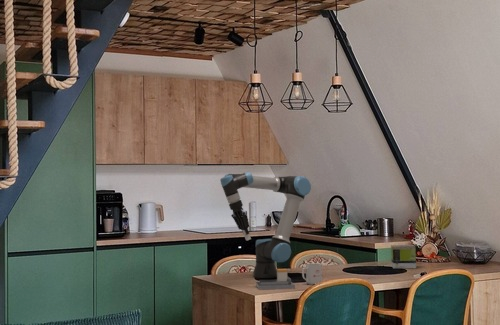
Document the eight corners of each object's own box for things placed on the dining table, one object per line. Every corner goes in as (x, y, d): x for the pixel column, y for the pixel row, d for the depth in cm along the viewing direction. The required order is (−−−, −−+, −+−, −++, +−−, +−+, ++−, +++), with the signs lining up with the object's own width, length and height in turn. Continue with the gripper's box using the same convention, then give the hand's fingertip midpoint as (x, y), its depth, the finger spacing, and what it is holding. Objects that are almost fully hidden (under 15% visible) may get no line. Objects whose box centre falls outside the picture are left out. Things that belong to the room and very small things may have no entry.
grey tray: (259, 289, 381) (259, 280, 381) (256, 285, 394) (256, 276, 394) (294, 288, 383) (294, 279, 383) (290, 284, 396) (290, 275, 396)
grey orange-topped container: (278, 284, 386) (278, 270, 386) (276, 282, 391) (276, 268, 391) (287, 283, 387) (287, 270, 387) (286, 282, 392) (285, 268, 392)
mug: (316, 282, 404) (316, 263, 404) (324, 284, 396) (324, 264, 396) (298, 283, 398) (298, 264, 398) (306, 286, 390) (306, 266, 390)
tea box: (414, 266, 462) (413, 244, 462) (416, 268, 452) (416, 246, 452) (391, 266, 463) (391, 244, 463) (392, 268, 453) (392, 246, 453)
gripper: (223, 205, 402) (237, 243, 403) (236, 202, 392) (250, 241, 393) (233, 201, 407) (246, 238, 407) (246, 197, 396) (260, 236, 397)
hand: (248, 239), depth 400 cm, fingers closed
